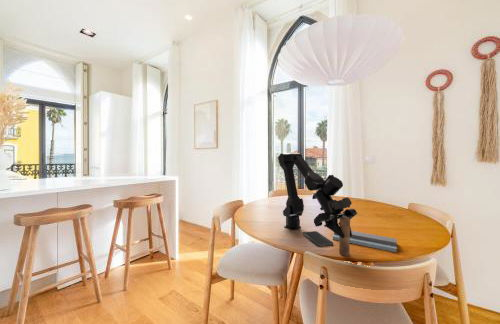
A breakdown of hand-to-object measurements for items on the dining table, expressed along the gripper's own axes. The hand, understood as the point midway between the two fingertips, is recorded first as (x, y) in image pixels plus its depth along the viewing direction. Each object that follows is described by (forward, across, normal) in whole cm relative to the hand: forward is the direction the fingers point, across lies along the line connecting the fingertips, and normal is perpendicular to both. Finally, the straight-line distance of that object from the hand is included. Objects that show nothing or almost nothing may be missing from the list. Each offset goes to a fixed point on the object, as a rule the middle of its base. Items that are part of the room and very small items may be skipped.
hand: (347, 236), depth 85 cm
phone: (-7, +1, +18) cm, 19 cm away
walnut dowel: (+4, 0, +6) cm, 7 cm away
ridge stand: (+1, +17, +9) cm, 20 cm away
